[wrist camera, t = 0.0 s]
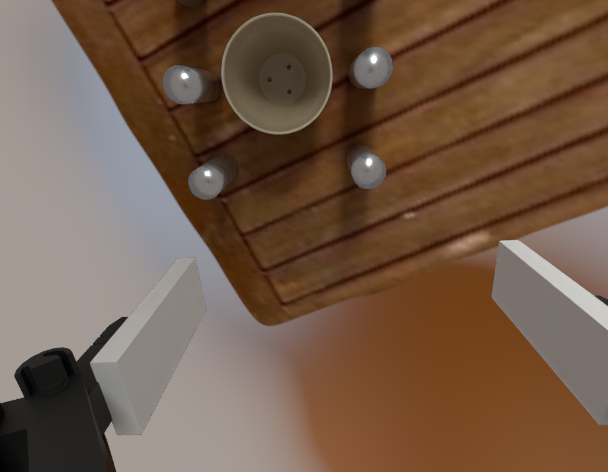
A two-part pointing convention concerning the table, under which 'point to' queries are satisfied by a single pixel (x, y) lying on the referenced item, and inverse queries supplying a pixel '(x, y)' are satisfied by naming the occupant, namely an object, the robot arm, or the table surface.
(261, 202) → the table surface
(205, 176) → the spacers
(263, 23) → the flower pot
